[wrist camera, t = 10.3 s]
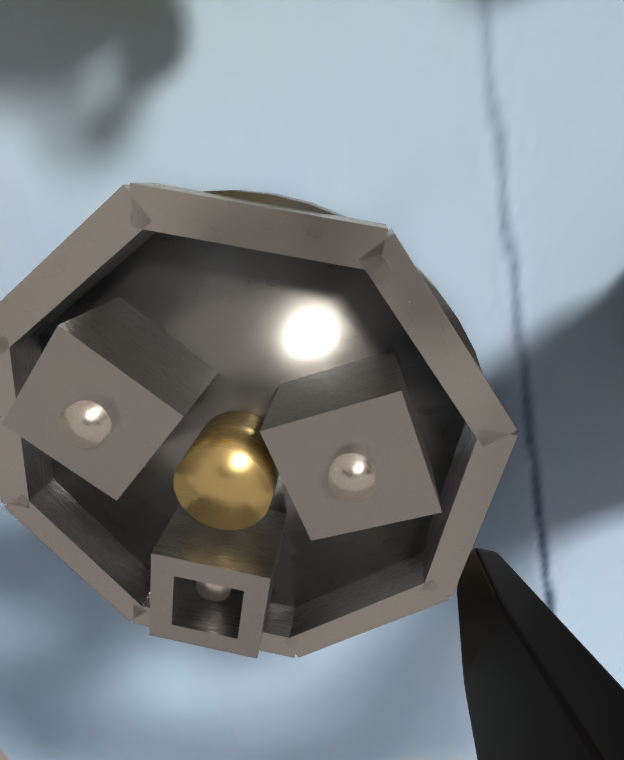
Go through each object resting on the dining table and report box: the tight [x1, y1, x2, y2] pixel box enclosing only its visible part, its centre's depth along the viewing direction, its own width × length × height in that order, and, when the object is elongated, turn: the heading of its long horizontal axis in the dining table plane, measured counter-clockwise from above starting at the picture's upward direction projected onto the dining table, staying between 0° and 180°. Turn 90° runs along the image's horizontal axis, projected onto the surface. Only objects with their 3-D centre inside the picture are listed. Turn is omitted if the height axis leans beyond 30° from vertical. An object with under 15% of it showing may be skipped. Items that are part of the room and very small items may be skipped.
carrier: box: [0, 183, 518, 658], centre depth 19 cm, size 22×22×6 cm
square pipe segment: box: [150, 504, 287, 658], centre depth 21 cm, size 5×5×4 cm
